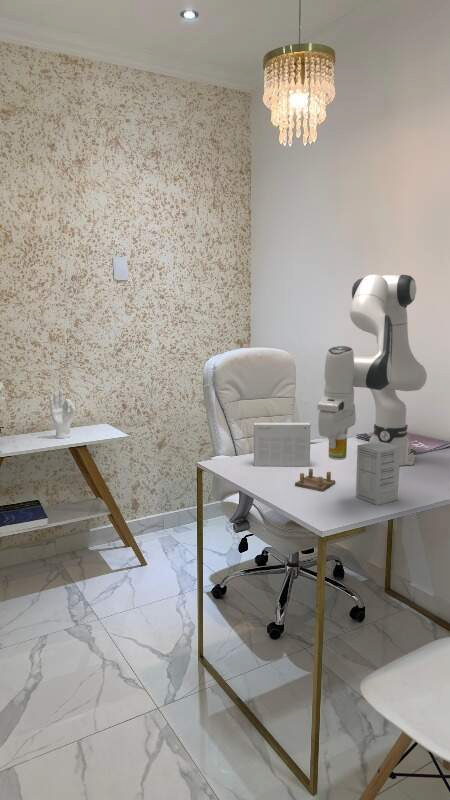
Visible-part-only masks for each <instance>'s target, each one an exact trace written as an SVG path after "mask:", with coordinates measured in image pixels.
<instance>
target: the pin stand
mask: <svg viewBox="0 0 450 800" xmlns="http://www.w3.org/2000/svg"><path fill="white" fill-rule="evenodd" d="M313 475H314V469H313V468H308V475H307V476H305V473H303V472H301V473H299V480H298V481H295V482H294V486H295V487H299V488H303V489H309V490H314V491H319V492H324V491H326V490H328V488H330V487H333V485H335V484H336V480H334V479H331V478H332V472H331V471H326V478H324V477H323V476H313Z"/></svg>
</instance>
